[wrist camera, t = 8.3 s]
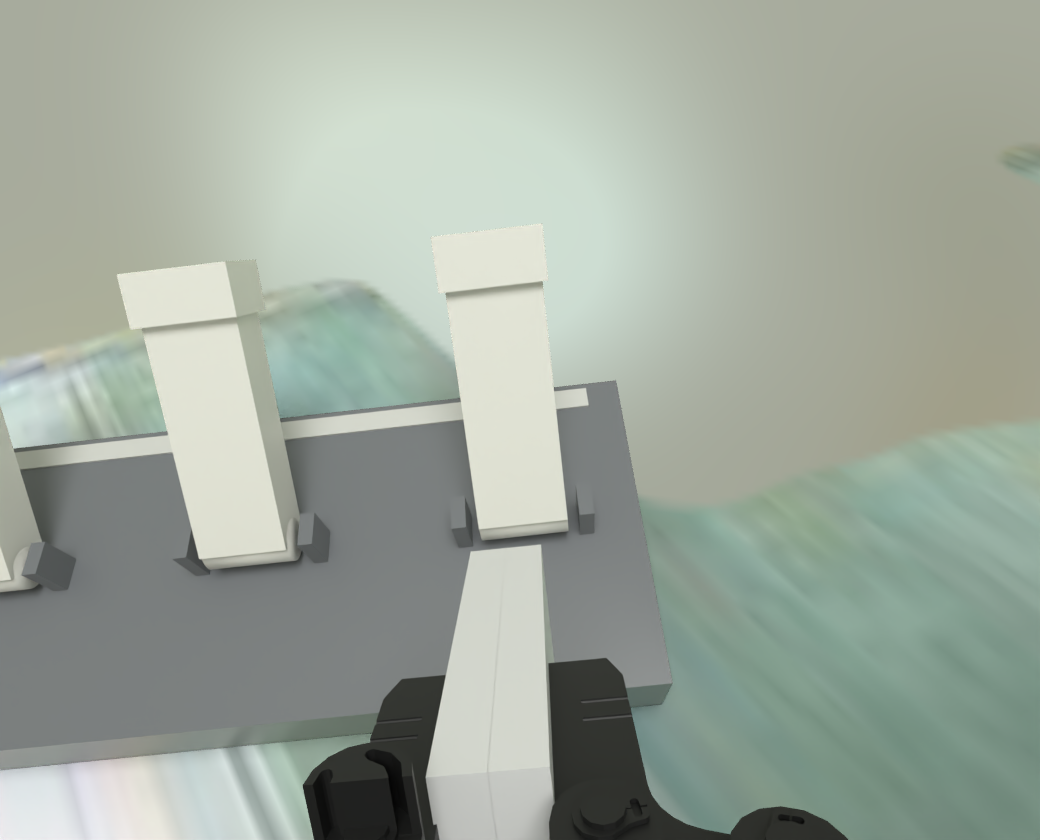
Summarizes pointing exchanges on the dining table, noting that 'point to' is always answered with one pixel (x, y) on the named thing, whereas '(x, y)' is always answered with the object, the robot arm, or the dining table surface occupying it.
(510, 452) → the lever
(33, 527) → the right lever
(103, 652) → the breaker panel
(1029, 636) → the dining table surface
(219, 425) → the middle lever
